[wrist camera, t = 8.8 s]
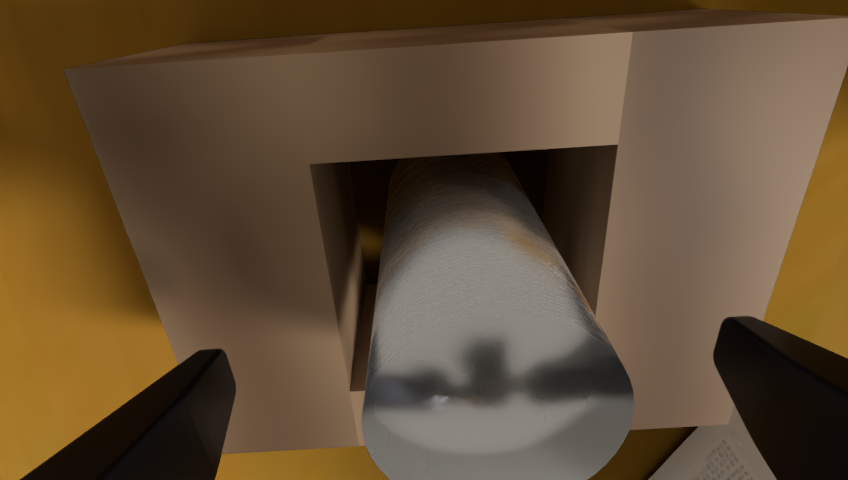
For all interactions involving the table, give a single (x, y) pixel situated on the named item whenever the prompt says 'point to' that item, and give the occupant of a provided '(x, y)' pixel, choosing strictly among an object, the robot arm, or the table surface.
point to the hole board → (454, 135)
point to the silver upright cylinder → (484, 337)
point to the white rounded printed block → (716, 455)
